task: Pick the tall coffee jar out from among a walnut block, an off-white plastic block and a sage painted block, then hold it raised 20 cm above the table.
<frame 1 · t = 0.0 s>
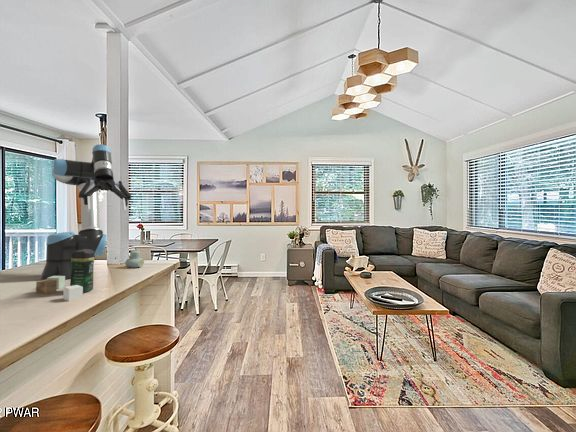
hand: (107, 211, 142), 36 cm above the table, tool tilted 35°, fingers open, 13 cm apart
coffee jar: (82, 291, 147), on the table
sage block: (55, 287, 151), on the table
off-white block: (72, 299, 134), on the table
walnut block: (46, 292, 143), on the table
air freshener: (134, 267, 209), on the table
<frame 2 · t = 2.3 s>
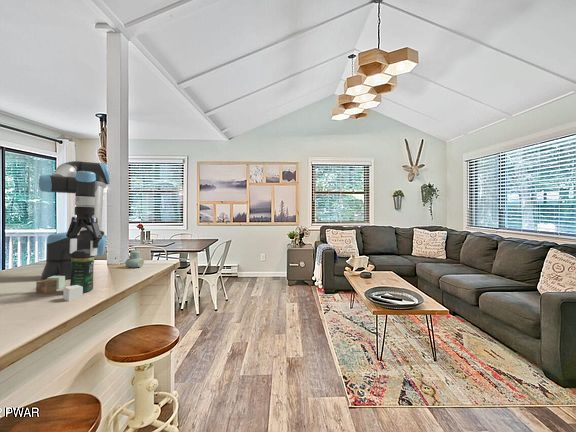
hand: (83, 254, 147), 16 cm above the table, tool pointing down, fingers open, 13 cm apart
nothing on the table moved.
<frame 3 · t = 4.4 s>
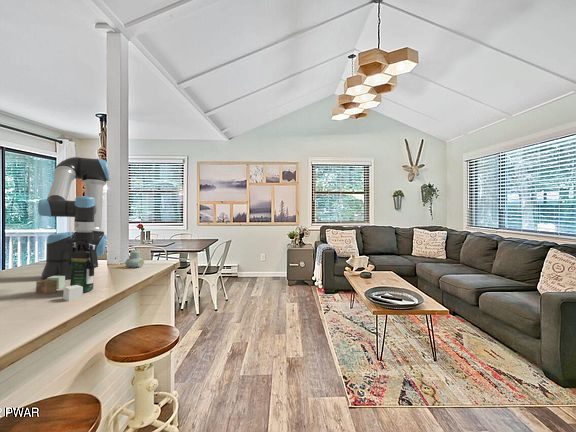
hand: (82, 281, 147), 4 cm above the table, tool pointing down, fingers closed on coffee jar, 9 cm apart
coffee jar: (82, 291, 147), on the table, touching gripper
everything else where it was.
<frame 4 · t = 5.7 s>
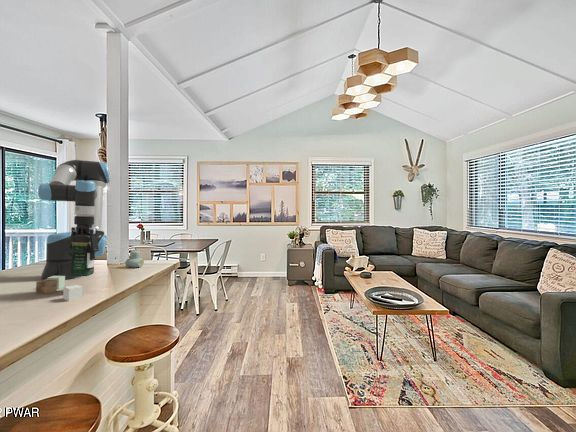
hand: (82, 266, 147), 11 cm above the table, tool pointing down, fingers closed on coffee jar, 9 cm apart
coffee jar: (82, 275, 147), point 7 cm above the table, touching gripper
everything else where it was.
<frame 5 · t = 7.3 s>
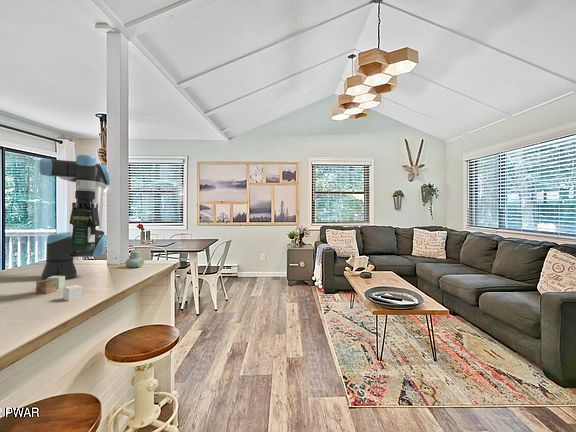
hand: (83, 241, 147), 22 cm above the table, tool pointing down, fingers closed on coffee jar, 9 cm apart
coffee jar: (83, 250, 147), point 18 cm above the table, touching gripper
everything else where it was.
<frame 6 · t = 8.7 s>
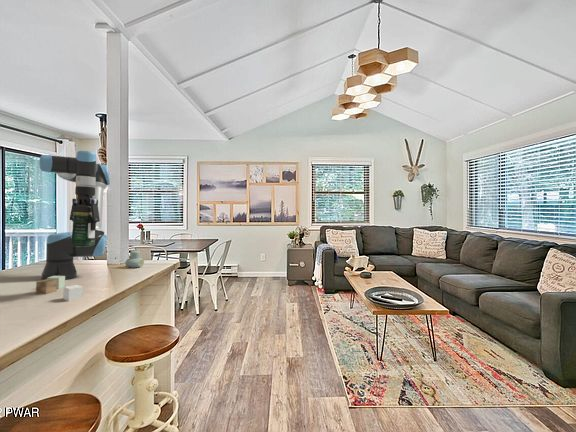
hand: (83, 237, 147), 24 cm above the table, tool pointing down, fingers closed on coffee jar, 9 cm apart
coffee jar: (83, 246, 147), point 20 cm above the table, touching gripper
everything else where it was.
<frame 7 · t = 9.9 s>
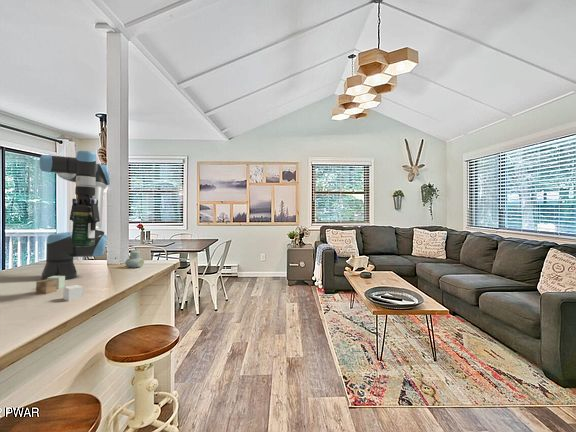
hand: (83, 237, 147), 24 cm above the table, tool pointing down, fingers closed on coffee jar, 9 cm apart
coffee jar: (83, 246, 147), point 20 cm above the table, touching gripper
everything else where it was.
at the end: the gripper is holding coffee jar; coffee jar point 19.7 cm above the table; off-white block moved 0.1 cm from its start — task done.
